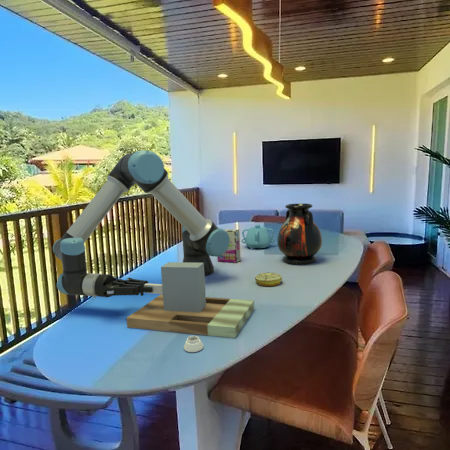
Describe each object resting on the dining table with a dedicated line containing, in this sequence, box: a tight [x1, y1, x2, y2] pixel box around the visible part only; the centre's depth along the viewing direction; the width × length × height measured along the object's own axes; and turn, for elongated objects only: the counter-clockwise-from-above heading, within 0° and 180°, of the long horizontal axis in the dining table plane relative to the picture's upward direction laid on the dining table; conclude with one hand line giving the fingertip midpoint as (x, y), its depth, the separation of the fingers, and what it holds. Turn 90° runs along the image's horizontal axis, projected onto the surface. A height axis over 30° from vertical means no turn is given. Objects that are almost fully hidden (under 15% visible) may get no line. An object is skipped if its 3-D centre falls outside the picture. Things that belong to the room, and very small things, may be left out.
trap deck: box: [126, 294, 255, 339], centre depth 116 cm, size 22×34×3 cm, turn 72°
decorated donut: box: [254, 272, 283, 287], centre depth 149 cm, size 10×11×4 cm
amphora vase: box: [277, 203, 323, 266], centre depth 180 cm, size 22×22×28 cm
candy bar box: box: [217, 228, 241, 264], centre depth 187 cm, size 11×5×16 cm, turn 62°
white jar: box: [183, 335, 204, 353], centre depth 96 cm, size 5×3×5 cm
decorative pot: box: [241, 224, 275, 249], centre depth 219 cm, size 16×16×14 cm
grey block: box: [160, 261, 207, 312], centre depth 116 cm, size 6×12×14 cm, turn 77°
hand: (163, 289), depth 116 cm, fingers closed
